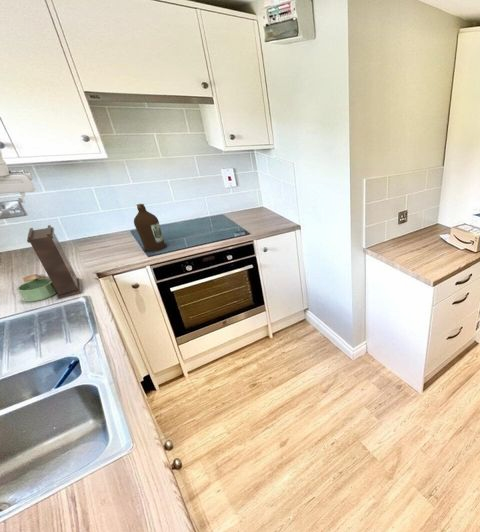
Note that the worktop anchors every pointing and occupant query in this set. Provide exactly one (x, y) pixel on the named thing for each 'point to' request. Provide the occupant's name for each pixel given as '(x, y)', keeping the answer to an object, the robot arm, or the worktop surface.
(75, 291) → the dark wood pillar
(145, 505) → the worktop surface
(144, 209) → the olive oil
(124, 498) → the worktop surface
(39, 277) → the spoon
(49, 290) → the bowl
